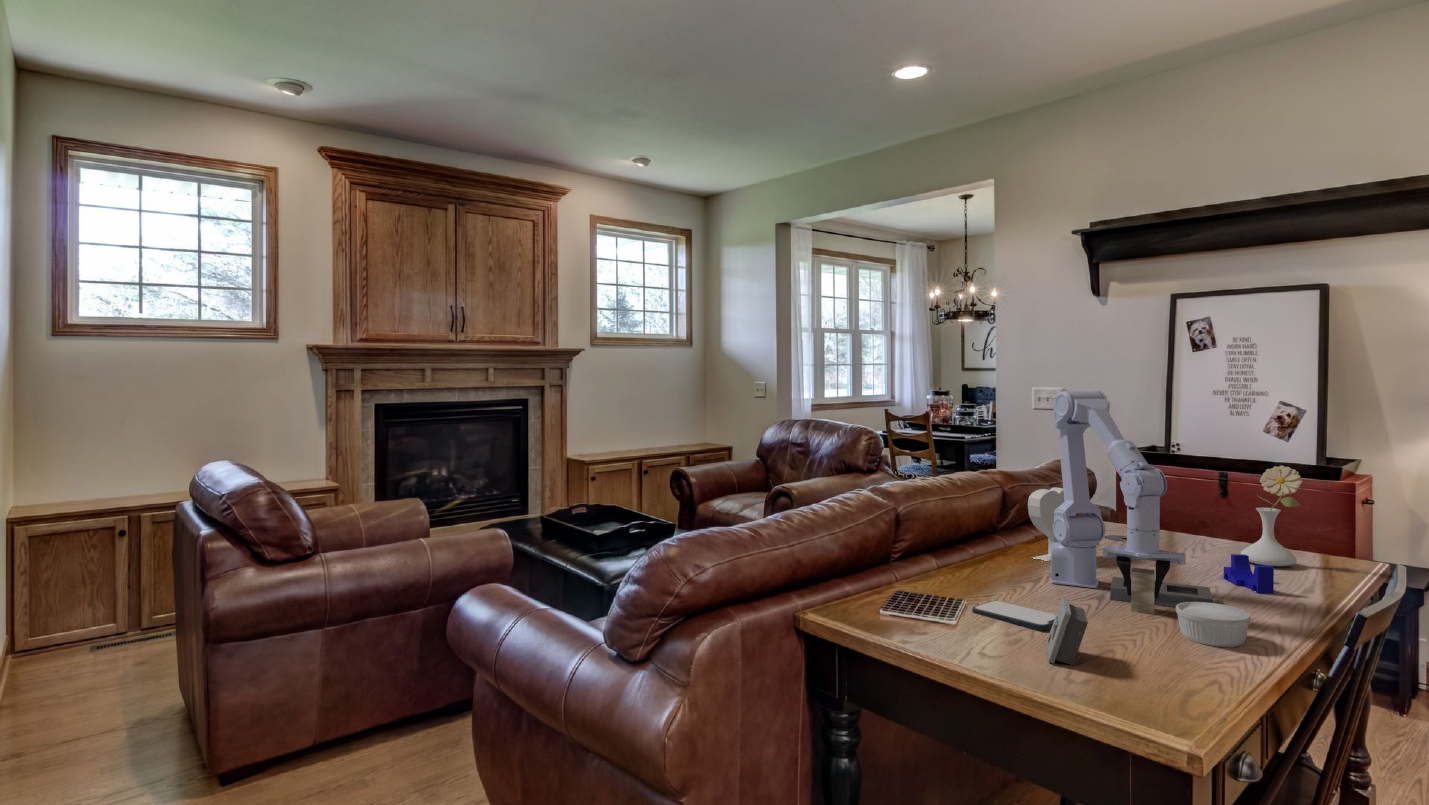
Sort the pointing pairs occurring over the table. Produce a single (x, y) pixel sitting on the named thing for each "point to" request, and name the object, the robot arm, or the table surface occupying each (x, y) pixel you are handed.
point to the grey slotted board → (1165, 593)
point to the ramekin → (1213, 623)
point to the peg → (1142, 590)
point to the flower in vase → (1267, 546)
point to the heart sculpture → (1045, 513)
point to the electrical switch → (1066, 633)
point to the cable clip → (1250, 575)
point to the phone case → (1016, 615)
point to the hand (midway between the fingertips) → (1142, 595)
